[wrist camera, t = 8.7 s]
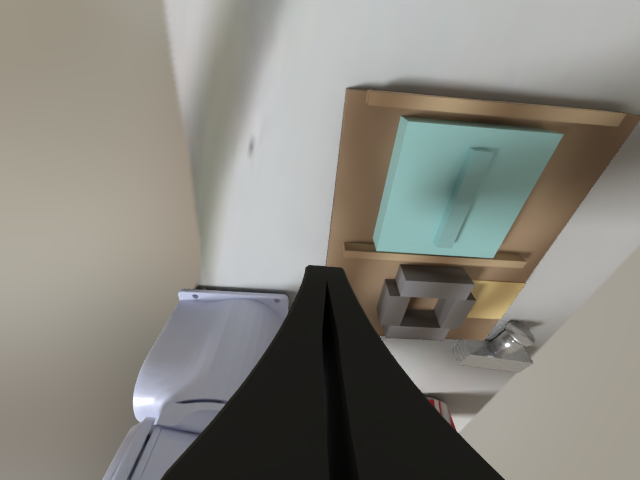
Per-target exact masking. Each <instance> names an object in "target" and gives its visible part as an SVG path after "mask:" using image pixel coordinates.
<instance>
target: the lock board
mask: <svg viewBox="0 0 640 480" xmlns="http://www.w3.org/2000/svg"><path fill="white" fill-rule="evenodd" d="M401 116H406V117H418V118H430V119H442V120H454V121H465V122H477V123H489V124H501V125H513V126H525V127H536V128H545V129H548V130H551V131H554V132H558V133H561V134H564V135H563V137H562V138H561V140H560V142H559V144H558V145H557V147H556V149H555V151H554V152H553V154H552V156H551V158H550V159H549V161H548V163H547V165H546V166H545V168H544V170H543V172H542V173H541V175H540V177H539V179H538V180H537V182H536V184H535V186H534V187H533V189H532V191H531V193H530V195H529V196H528V198H527V200H526V202H525V203H524V205H523V207H522V209H521V210H520V212H519V214H518V216H517V217H516V219H515V221H514V223H513V224H512V226H511V228H510V230H509V231H508V233H507V235H506V237H505V238H504V240H503V242H502V244H501V245H500V247H499V249H498V251H497V252H496V254H495V256H494V258H482V257H466V256H450V255H434V254H418V253H402V252H386V251H376V248H375V244H374V241H373V235H374V231H375V226H376V222H377V218H378V213H379V209H380V205H381V200H382V196H383V191H384V187H385V183H386V178H387V174H388V170H389V165H390V161H391V156H392V152H393V148H394V143H395V139H396V135H397V130H398V126H399V122H400V117H401ZM639 120H640V115H634V114H629V113H623V112H613V111H606V110H594V109H583V108H572V107H560V106H549V105H538V104H526V103H515V102H504V101H492V100H481V99H470V98H458V97H447V96H436V95H424V94H413V93H402V92H390V91H379V90H364V89H353V88H346V95H345V104H344V112H343V121H342V130H341V138H340V147H339V156H338V164H337V173H336V182H335V190H334V199H333V208H332V216H331V225H330V234H329V242H328V251H327V260H326V266H328V267H341V268H343V269H344V271H345V273H346V276H347V278H348V281H349V283H350V285H351V287H352V289H353V291H354V293H355V295H356V297H357V299H358V301H359V303H360V305H361V307H362V308H363V310H364V312H365V314H366V316H367V317H368V319H369V321H370V322H371V324H372V326H373V327H374V329H375V330H376V332H377V333H378V335H379V336H385V337H386V338H402V339H422V340H444V339H461V340H481V341H484V340H485V339H486V337H487V336H488V334H489V333H490V331H491V330H492V329H493V327H494V326H495V324H496V323H497V321H498V320H499V319H501V318H502V316H503V315H504V313H505V312H506V311H507V309H508V308H509V306H510V305H511V304H512V302H513V301H514V299H515V298H516V296H517V295H518V294H519V292H520V291H521V289H522V288H523V287H524V285H525V284H526V283H525V282H526V280H527V279H528V278H529V276H530V275H531V273H532V272H533V270H534V269H535V268H536V266H537V265H538V263H539V262H540V261H541V259H542V258H543V256H544V255H545V253H546V252H547V251H548V249H549V248H550V246H551V245H552V244H553V242H554V241H555V239H556V238H557V236H558V235H559V234H560V232H561V231H562V229H563V228H564V227H565V225H566V224H567V222H568V221H569V219H570V218H571V217H572V215H573V214H574V212H575V211H576V209H577V208H578V207H579V205H580V204H581V202H582V201H583V200H584V198H585V197H586V195H587V194H588V192H589V191H590V190H591V188H592V187H593V185H594V184H595V183H596V181H597V180H598V178H599V177H600V175H601V174H602V173H603V171H604V170H605V168H606V167H607V166H608V164H609V163H610V161H611V160H612V158H613V157H614V156H615V154H616V153H617V151H618V150H619V149H620V147H621V146H622V144H623V143H624V141H625V140H626V139H627V137H628V136H629V134H630V133H631V132H632V130H633V129H634V127H635V126H636V124H637V123H638V122H639Z"/></svg>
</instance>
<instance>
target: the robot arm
mask: <svg viewBox="0 0 640 480" xmlns="http://www.w3.org/2000/svg"><path fill="white" fill-rule="evenodd" d="M178 296H179V300H180V301H179V302H178V304H177V306H176V307H175V309H174V311H173V313H172V314H171V316H170V318H169V319H168V321H167V323H166V325H165V326H164V328H163V330H162V331H161V333H160V335H159V336H158V338H157V340H156V342H155V343H154V345H153V347H152V348H151V350H150V352H149V353H148V355H147V357H146V359H145V361H144V363H143V365H142V367H141V370H140V372H139V376H138V378H137V382H136V385H135V390H134V396H133V409H134V414H135V417H136V418H137V420H138V421H139V422H140V423H138V424H136V425H135V426H133V427H132V428H131V429H130V431H129V432H128V434H127V435H126V437H125V439H124V441H123V442H122V444H121V446H120V447H119V449H118V451H117V453H116V455H115V457H114V459H113V461H112V462H111V464H110V466H109V468H108V470H107V472H106V474H105V476H104V478H103V480H505V479H504V478H502V476H501V475H499V473H497V472H496V471H495V470H494V469H493V468H492V467H491V466H490V465H489V464H488V463H487V462H486V461H485V460H484V459H483V458H482V457H481V456H480V455H479V454H478V453H477V452H476V451H475V450H474V449H473V448H472V447H471V446H470V445H469V444H468V443H467V442H466V441H465V440H464V439H463V438H462V436H461V435H460V434H459V433H458V432H457V431H456V430H455V429H454V428H453V427H452V426H451V425H450V424H449V423H448V422H447V420H446V419H445V418H444V417H443V416H442V415H441V414H440V413H439V412H438V410H437V409H436V408H435V407H434V406H433V405H432V404H431V402H430V401H429V400H428V399H427V398H426V397H425V395H424V394H423V393H422V392H421V391H420V390H419V389H418V387H417V386H416V385H415V384H414V383H413V381H412V380H411V379H410V378H409V376H408V375H407V374H406V373H405V371H404V370H403V369H402V367H401V366H400V365H399V364H398V362H397V361H396V359H395V358H394V357H393V355H392V354H391V353H390V351H389V350H388V348H387V347H386V346H385V344H384V343H383V341H382V340H381V338H380V337H379V335H378V333H377V332H376V330H375V329H374V327H373V326H372V324H371V322H370V321H369V319H368V317H367V316H366V314H365V312H364V310H363V308H362V307H361V305H360V303H359V301H358V299H357V297H356V295H355V293H354V291H353V289H352V287H351V285H350V283H349V281H348V278H347V276H346V273H345V271H344V269H343V268H341V267H328V266H314V265H309V266H307V267H306V269H305V274H304V278H303V281H302V284H301V286H300V289H299V291H298V294H297V296H296V298H295V300H294V302H293V304H292V307H291V309H290V311H289V312H288V303H289V298H288V296H287V295H284V294H270V293H251V292H233V291H215V290H197V289H181V290H180V291H179V293H178ZM277 299H278V300H277Z"/></svg>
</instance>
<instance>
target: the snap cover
mask: <svg viewBox="0 0 640 480" xmlns="http://www.w3.org/2000/svg"><path fill="white" fill-rule="evenodd" d="M563 135H564V134H561V133H558V132H554V131H551V130H548V129H545V128H536V127H525V126H513V125H501V124H489V123H477V122H465V121H454V120H442V119H430V118H418V117H406V116H401V117H400V122H399V126H398V130H397V135H396V139H395V143H394V148H393V152H392V156H391V161H390V165H389V170H388V174H387V178H386V183H385V187H384V191H383V196H382V200H381V205H380V209H379V213H378V218H377V222H376V226H375V231H374V235H373V241H374V244H375V248H376V251H386V252H402V253H418V254H434V255H450V256H466V257H482V258H494V256H495V254H496V252H497V251H498V249H499V247H500V245H501V244H502V242H503V240H504V238H505V237H506V235H507V233H508V231H509V230H510V228H511V226H512V224H513V223H514V221H515V219H516V217H517V216H518V214H519V212H520V210H521V209H522V207H523V205H524V203H525V202H526V200H527V198H528V196H529V195H530V193H531V191H532V189H533V187H534V186H535V184H536V182H537V180H538V179H539V177H540V175H541V173H542V172H543V170H544V168H545V166H546V165H547V163H548V161H549V159H550V158H551V156H552V154H553V152H554V151H555V149H556V147H557V145H558V144H559V142H560V140H561V138H562V137H563Z"/></svg>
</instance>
